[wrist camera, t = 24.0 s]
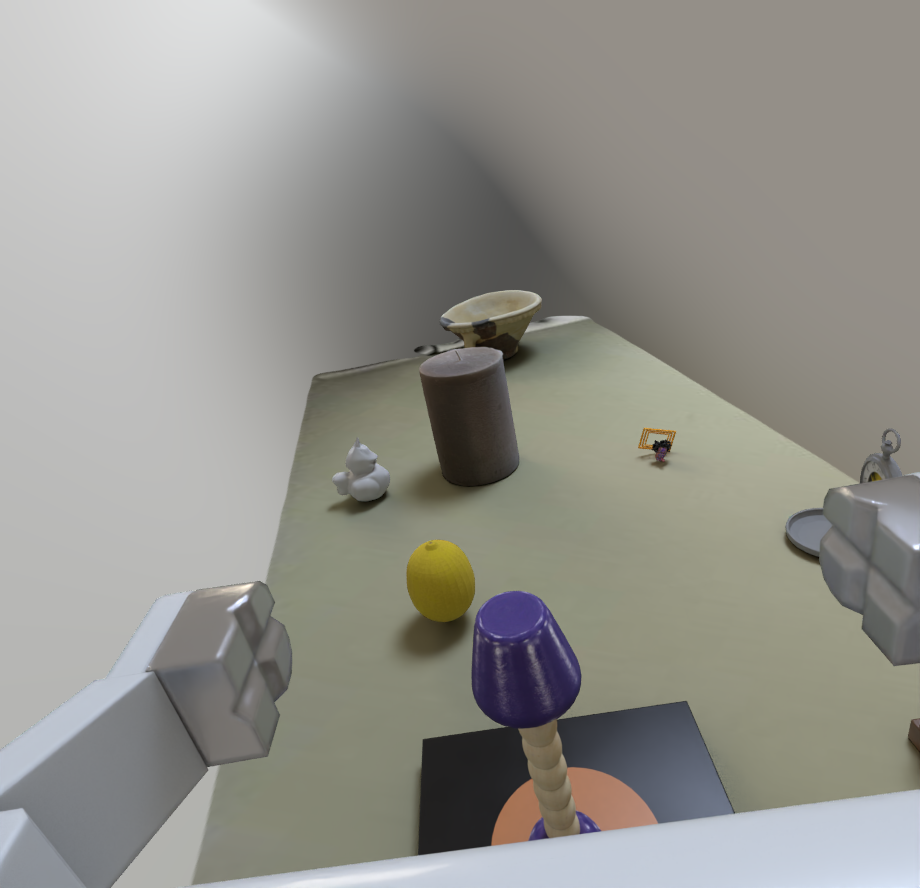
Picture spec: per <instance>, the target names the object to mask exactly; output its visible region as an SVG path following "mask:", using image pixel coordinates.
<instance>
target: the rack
mask: <svg viewBox="0 0 920 888" xmlns="http://www.w3.org/2000/svg"><path fill="white" fill-rule="evenodd" d="M908 737H909V739H910V740H911V741H912V742H913V744H914V745H915V746H916V748H917V749H918V750H919V751H920V719H912V720H911V724H910V728H909V733H908Z"/></svg>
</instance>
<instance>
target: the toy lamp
mask: <svg viewBox="0 0 920 888" xmlns="http://www.w3.org/2000/svg"><path fill="white" fill-rule="evenodd" d="M580 687H581V670H580V666H579V663H578V660H577V658H576V656H575V654H574V652H573V650H572V648H571V647H570V645H569V643H568V641H567V639H566V638H565V636H564V634H563V632H562V631H561V629H560V627H559V625H558V624H557V622H556V620H555V619H554V617H553V615H552V614H551V612H550V610H549V609H548V608H547V606H546V605H545V603H544V602H543V601H542V600H541V599H539V598H538V597H536V596H535V595H533V594H531V593H528V592H522V591H510V592H504V593H501V594H498V595H496V596H494V597H492V598H491V599H489V600H488V601H487V602H485V603H484V604H483V605H482V607H481V608H480V610H479V611H478V613H477V615H476V620H475V625H474V637H473V655H472V690H473V694H474V698H475V700H476V702H477V705H478V706H479V708H480V709H481V710H482V711H483V712H484V713H485V715H487V716H488V717H489V718H491V719H492V720H493V721H495V722H497V723H499V724H501V725H504V726H509V727H512V728H515V729H518V730H519V732H520V734H521V736H522V745H523V750H524V753H525V755H526V757H527V759H528V770H529V773H530V776H531V778H532V779H533V788H534V792H535V795H536V797H537V799H538V800H539V809H540V813H541V815H542V817H541V818H540V819H539V820H538V821H537V823H536V824H535V825H534V827H533V829H532V831H531V834H530V837H529V840H528V841H533V840H540V839H548V838H555V837H563V836H570V835H578V834H585V833H593V832H601V830H600V828H599V827H598V826H597V824H596V823H595V822H594V821H593V820H592V819H591V818H589V817H588V816H587V815H585V814H584V813H582V812H579V811H576V806H575V802H574V799H573V797H572V795H571V793H572V788H571V783H570V780H569V778H568V776H567V765H566V761H565V758H564V756H563V754H562V743H561V739H560V736H559V734H558V732H557V719H558V718H559V717H560V716H562V715H563V714H564V713H565V712H566V711H567V710H568V709H569V708H570V707H571V706H572V704H573V703H574V701H575V699H576V697H577V695H578V693H579V690H580Z"/></svg>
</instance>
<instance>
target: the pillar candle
mask: <svg viewBox="0 0 920 888" xmlns="http://www.w3.org/2000/svg"><path fill="white" fill-rule="evenodd" d="M502 355H503V353H502V351H500V350H496V349H493V348H487V347H478V348H477V347H472V348H464V349H455V350H451V351H448V352H445V353H442V354H439V355H437V356H434V357H432V358H430V359H428V360H427V361H425V362H423V363H422V365H421V366H420V369H419V371H420V377H421V382H422V387H423V391H424V396H425V400H426V404H427V409H428V414H429V418H430V422H431V427H432V431H433V436H434V441H435V444H436V449H437V454H438V458H439V462H440V465H441V469H442V474H443V477H444V478H445V479H447V481H449V482H451V483H455V484H458V485H462V486H477V485H483V484H488V483H491V482H495V481H497V480H500V479H502V478H505V477H506V476H508V475H510V474H511V473H512V472H513V471H514V470H515V469H516V468H517V466H518V464H519V453H518V447H517V441H516V435H515V429H514V423H513V417H512V411H511V405H510V399H509V393H508V387H507V381H506V376H505V369H504V363H503V357H502Z"/></svg>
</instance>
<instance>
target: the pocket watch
mask: <svg viewBox="0 0 920 888" xmlns="http://www.w3.org/2000/svg"><path fill="white" fill-rule="evenodd" d="M889 431H892V432H894V433H895V435H896V437H897V446H896V448H895V449H893V447H892V445H891V444H892V442H891V441H889V440H887V441H885V437H886V434H887V433H888V432H889ZM882 443H883V444H882V446H881V449H882V451H883V454H881V453H876V454H872V455H870V456H869V457H868V458H867V459H866V461H865V462H864V465H863V467H862V471H861V477H860V484H861V483H867V482H872V481H878V480H884V479H890V478H895V477H901V476H902V473H901V471H900V469H899V467H898V465H897V464H896V462H895V461H894V459H893V458H891V457H890V454H892V453H895V452H897V451H898V450H899V448H900V444H901V439H900V435H899V434H898V432H897V431H896V430H894V429H887V430H885V431H884V433H883V436H882ZM831 527H832V524H831V523H830V522H829V521H828V520H827V519H826V518H825V517H824V516H823V508H812V509H807V510H803V511H800V512H797V513H795V514H793V515H792V516H791V517H790V518H789V519H788V521H787V523H786V534H787V536H788V538H789V539H790V541H791V542H792V543H793V544H794V545H795V546H797V547H798V548H800V549H801V550H803V551H805V552H807V553H810V554H812V555H815V556H818V557H819V552H820V540H821V539H822V538H823V536H824V535H825V534H826V533H827V532H828V530H829V529H830V528H831Z"/></svg>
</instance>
